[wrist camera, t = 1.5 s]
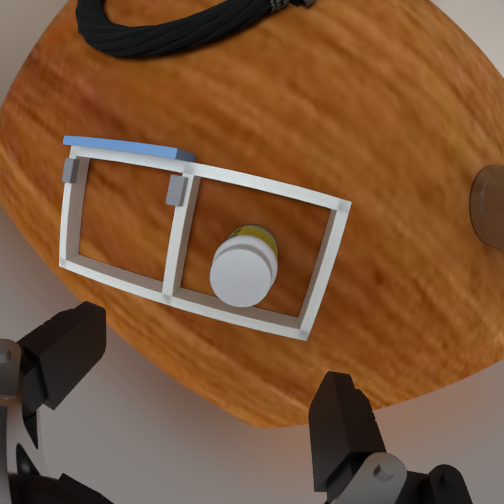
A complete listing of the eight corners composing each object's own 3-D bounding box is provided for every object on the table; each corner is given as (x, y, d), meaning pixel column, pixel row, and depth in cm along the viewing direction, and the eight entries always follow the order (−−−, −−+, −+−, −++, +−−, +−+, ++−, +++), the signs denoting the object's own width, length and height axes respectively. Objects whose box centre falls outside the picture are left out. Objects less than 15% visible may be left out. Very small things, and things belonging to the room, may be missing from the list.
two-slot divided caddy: (346, 191, 24) (362, 193, 19) (304, 328, 27) (309, 355, 23) (87, 139, 25) (57, 135, 20) (72, 260, 28) (45, 272, 23)
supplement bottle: (240, 214, 25) (223, 228, 17) (287, 238, 26) (291, 263, 17) (217, 260, 27) (192, 292, 18) (262, 283, 27) (256, 324, 19)
